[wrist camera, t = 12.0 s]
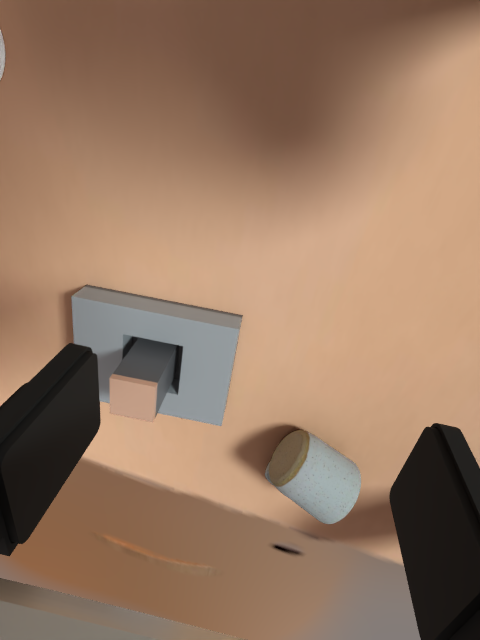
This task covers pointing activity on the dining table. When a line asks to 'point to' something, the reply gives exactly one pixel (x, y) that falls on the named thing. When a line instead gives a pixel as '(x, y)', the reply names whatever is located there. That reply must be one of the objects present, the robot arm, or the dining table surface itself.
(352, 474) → the ceramic mug
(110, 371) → the outlet box
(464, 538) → the robot arm
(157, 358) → the charger
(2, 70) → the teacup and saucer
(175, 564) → the dining table surface
